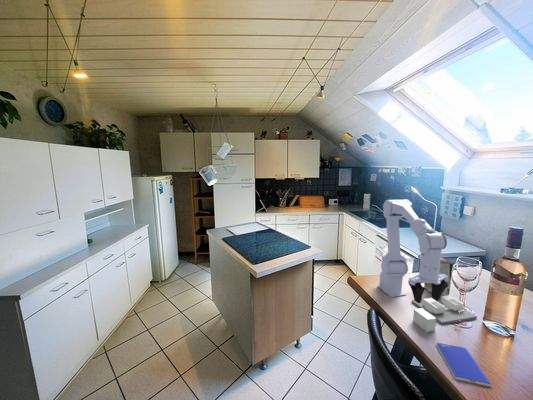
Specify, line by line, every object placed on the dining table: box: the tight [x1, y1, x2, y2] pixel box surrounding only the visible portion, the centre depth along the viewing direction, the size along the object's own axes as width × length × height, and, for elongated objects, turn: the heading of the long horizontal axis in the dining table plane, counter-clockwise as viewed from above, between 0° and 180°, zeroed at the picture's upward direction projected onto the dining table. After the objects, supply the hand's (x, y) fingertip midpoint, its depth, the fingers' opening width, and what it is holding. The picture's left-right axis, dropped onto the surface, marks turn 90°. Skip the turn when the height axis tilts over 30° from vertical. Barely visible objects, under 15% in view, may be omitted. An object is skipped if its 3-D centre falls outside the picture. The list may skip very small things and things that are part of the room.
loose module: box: [412, 308, 437, 333], centre depth 83 cm, size 6×4×5 cm, turn 10°
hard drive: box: [436, 342, 492, 387], centre depth 67 cm, size 2×8×12 cm
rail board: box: [411, 294, 478, 326], centre depth 92 cm, size 14×16×4 cm
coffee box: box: [423, 256, 454, 296], centre depth 104 cm, size 9×6×16 cm
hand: (426, 300), depth 82 cm, fingers open, 7 cm apart
